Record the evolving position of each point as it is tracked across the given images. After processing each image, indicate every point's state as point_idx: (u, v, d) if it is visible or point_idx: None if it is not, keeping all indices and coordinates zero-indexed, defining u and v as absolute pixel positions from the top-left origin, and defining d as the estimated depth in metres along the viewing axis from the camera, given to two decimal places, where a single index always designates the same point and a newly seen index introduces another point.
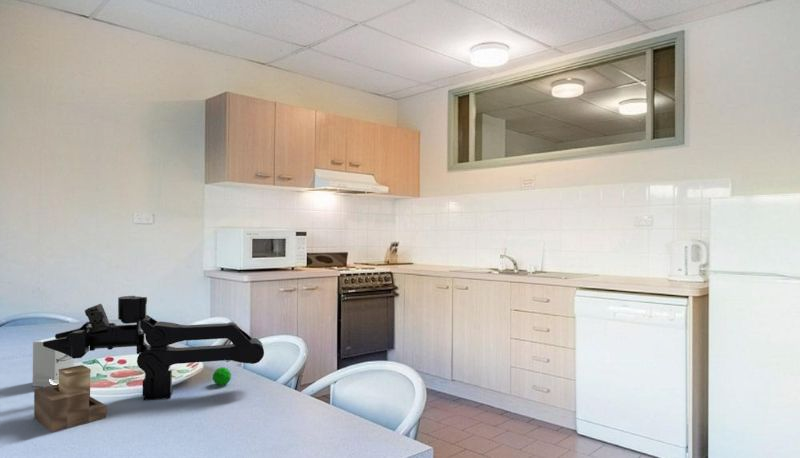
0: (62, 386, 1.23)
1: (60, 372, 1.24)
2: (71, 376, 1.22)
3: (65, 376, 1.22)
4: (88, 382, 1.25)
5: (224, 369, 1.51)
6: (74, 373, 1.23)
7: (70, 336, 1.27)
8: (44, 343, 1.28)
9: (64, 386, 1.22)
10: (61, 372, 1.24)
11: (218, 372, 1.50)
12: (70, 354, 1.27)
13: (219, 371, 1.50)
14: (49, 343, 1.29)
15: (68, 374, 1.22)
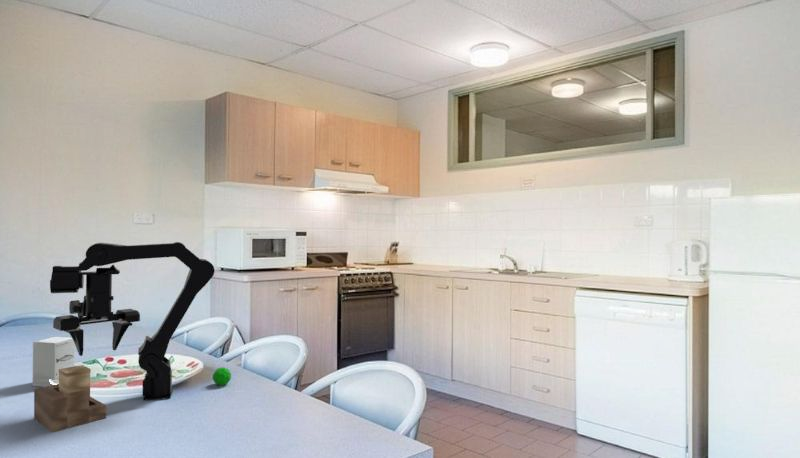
0: (62, 386, 1.23)
1: (60, 372, 1.24)
2: (71, 376, 1.22)
3: (65, 376, 1.22)
4: (88, 382, 1.25)
5: (224, 369, 1.51)
6: (74, 373, 1.23)
7: None
8: (79, 354, 1.31)
9: (64, 386, 1.22)
10: (61, 372, 1.24)
11: (218, 372, 1.50)
12: (69, 332, 1.27)
13: (219, 371, 1.50)
14: (77, 350, 1.31)
15: (68, 374, 1.22)
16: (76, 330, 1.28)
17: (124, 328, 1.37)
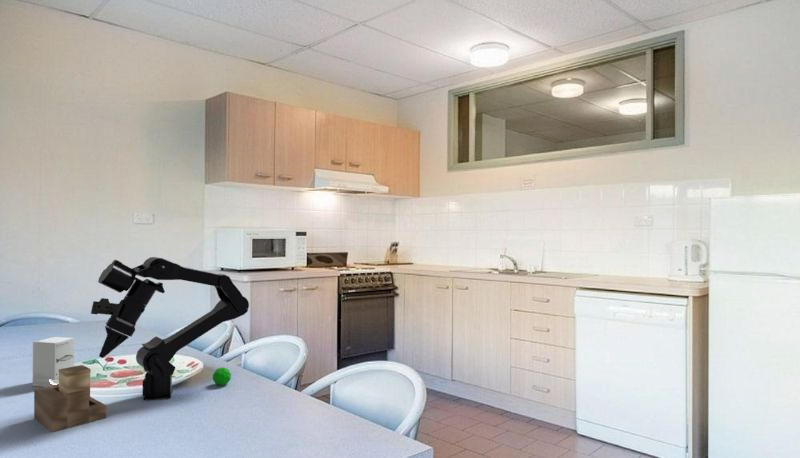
0: (62, 386, 1.23)
1: (60, 372, 1.24)
2: (71, 376, 1.22)
3: (65, 376, 1.22)
4: (88, 382, 1.25)
5: (224, 369, 1.51)
6: (74, 373, 1.23)
7: (108, 329, 1.30)
8: (101, 355, 1.31)
9: (64, 386, 1.22)
10: (61, 372, 1.24)
11: (218, 372, 1.50)
12: (125, 336, 1.31)
13: (219, 371, 1.50)
14: (103, 351, 1.31)
15: (68, 374, 1.22)
16: (127, 336, 1.33)
17: None
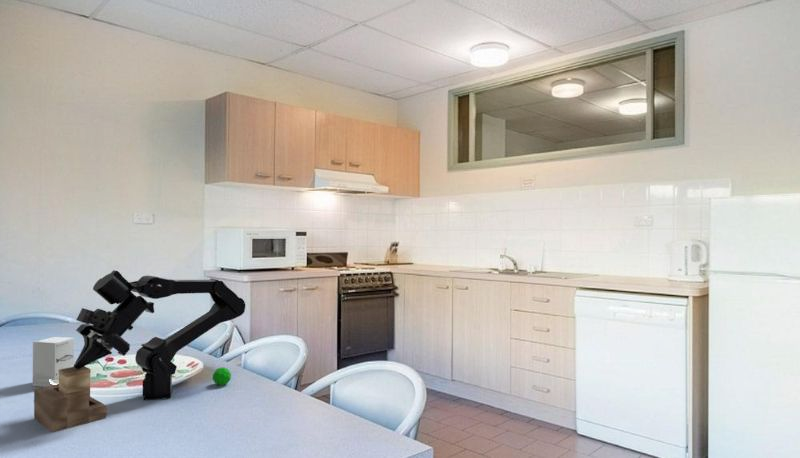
0: (62, 386, 1.23)
1: (60, 372, 1.24)
2: (71, 376, 1.22)
3: (65, 376, 1.22)
4: (88, 382, 1.25)
5: (224, 369, 1.51)
6: (74, 373, 1.23)
7: (96, 341, 1.25)
8: (76, 366, 1.25)
9: (64, 386, 1.22)
10: (61, 372, 1.24)
11: (218, 372, 1.50)
12: (110, 352, 1.28)
13: (219, 371, 1.50)
14: (81, 362, 1.25)
15: (68, 374, 1.22)
16: None
17: None
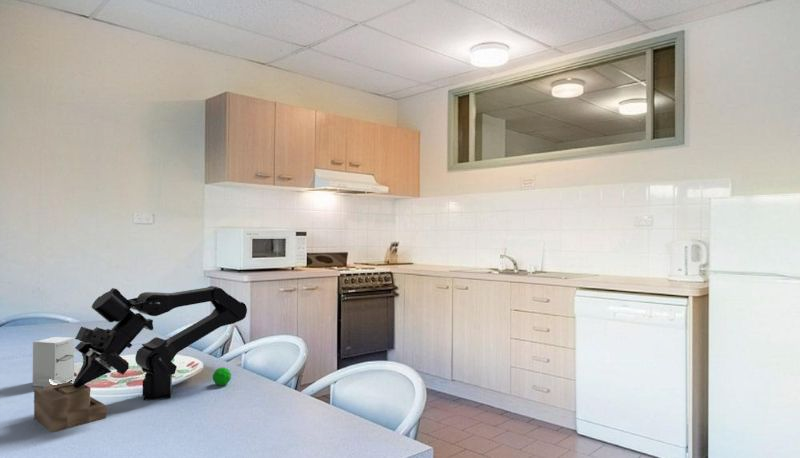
0: None
1: (60, 391, 1.24)
2: None
3: None
4: None
5: (224, 369, 1.51)
6: None
7: (95, 360, 1.25)
8: (75, 385, 1.25)
9: None
10: (61, 391, 1.24)
11: (218, 372, 1.50)
12: (109, 371, 1.28)
13: (219, 371, 1.50)
14: (79, 381, 1.25)
15: (68, 393, 1.22)
16: None
17: None
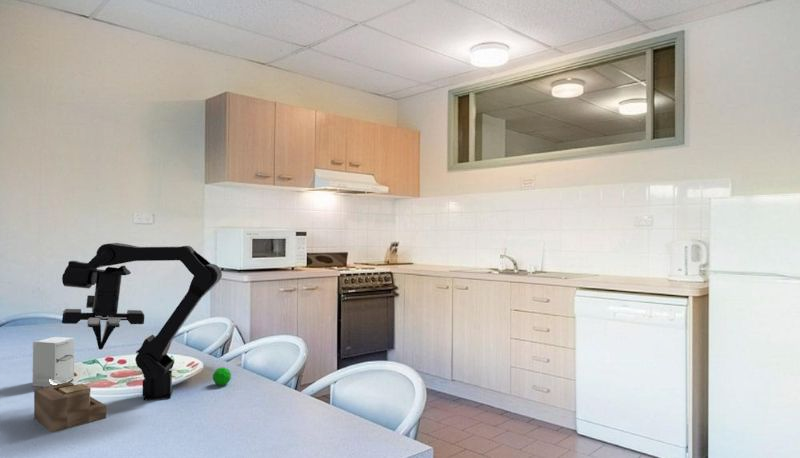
0: None
1: (60, 391, 1.24)
2: None
3: None
4: None
5: (224, 369, 1.51)
6: None
7: None
8: (98, 347, 1.39)
9: None
10: (61, 391, 1.24)
11: (218, 372, 1.50)
12: None
13: (219, 371, 1.50)
14: None
15: (68, 393, 1.22)
16: (94, 325, 1.35)
17: (110, 329, 1.37)
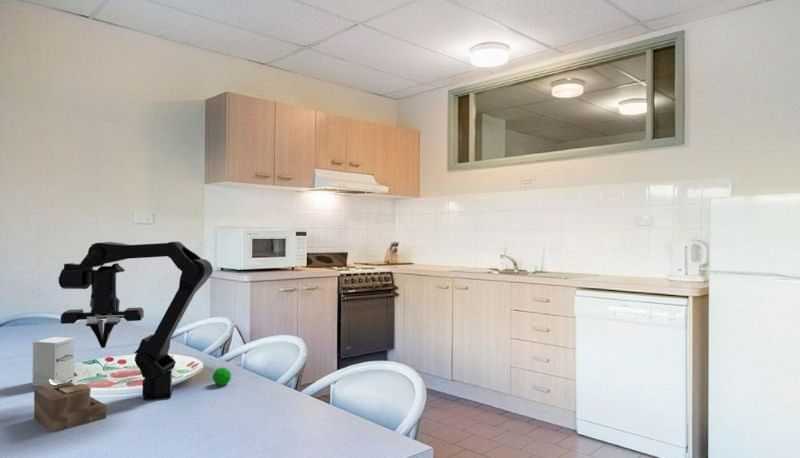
0: None
1: (60, 391, 1.24)
2: None
3: None
4: None
5: (224, 369, 1.51)
6: None
7: None
8: None
9: None
10: (61, 391, 1.24)
11: (218, 372, 1.50)
12: None
13: (219, 371, 1.50)
14: None
15: (68, 393, 1.22)
16: (92, 323, 1.37)
17: (107, 327, 1.38)
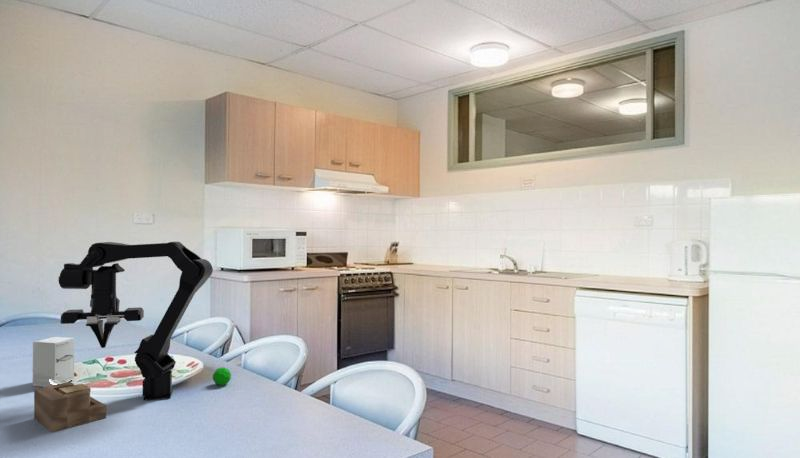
0: None
1: (60, 391, 1.24)
2: None
3: None
4: None
5: (224, 369, 1.51)
6: None
7: None
8: None
9: None
10: (61, 391, 1.24)
11: (218, 372, 1.50)
12: None
13: (219, 371, 1.50)
14: None
15: (68, 393, 1.22)
16: (92, 323, 1.37)
17: (107, 327, 1.38)
